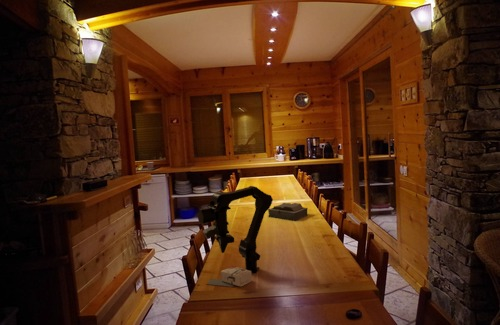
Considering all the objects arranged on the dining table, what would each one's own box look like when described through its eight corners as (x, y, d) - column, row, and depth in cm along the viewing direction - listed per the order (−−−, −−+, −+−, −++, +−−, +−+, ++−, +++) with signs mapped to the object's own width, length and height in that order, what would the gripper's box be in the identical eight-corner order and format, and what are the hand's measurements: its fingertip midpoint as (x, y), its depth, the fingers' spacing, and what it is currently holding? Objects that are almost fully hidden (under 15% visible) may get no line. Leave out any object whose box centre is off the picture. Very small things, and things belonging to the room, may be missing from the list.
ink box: (232, 265, 167) (252, 270, 159) (232, 275, 167) (252, 280, 160) (220, 270, 160) (240, 276, 153) (220, 281, 160) (240, 287, 153)
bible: (289, 223, 250) (289, 209, 249) (265, 216, 271) (264, 204, 270) (311, 216, 265) (311, 203, 264) (286, 210, 285) (285, 199, 284)
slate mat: (211, 279, 164) (211, 278, 164) (237, 281, 160) (237, 281, 160) (206, 284, 158) (206, 284, 158) (233, 287, 155) (233, 286, 155)
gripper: (199, 217, 166) (201, 249, 167) (209, 227, 148) (211, 263, 150) (221, 214, 170) (223, 245, 171) (233, 224, 152) (235, 258, 154)
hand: (222, 252), depth 162 cm, fingers closed
